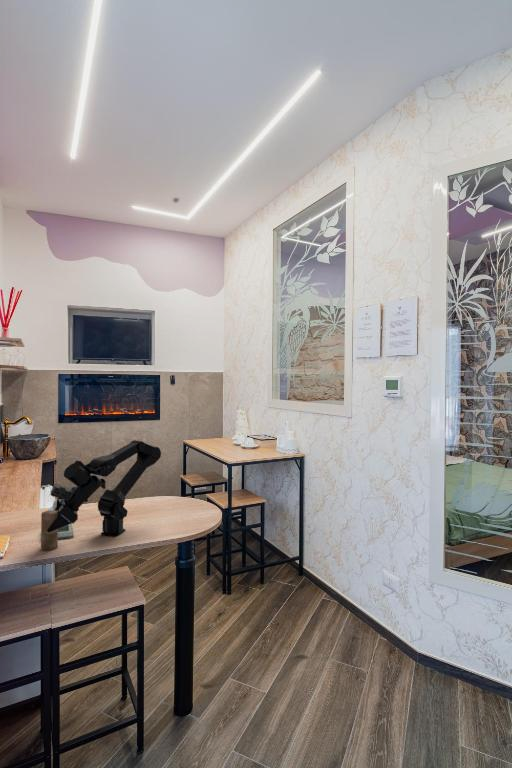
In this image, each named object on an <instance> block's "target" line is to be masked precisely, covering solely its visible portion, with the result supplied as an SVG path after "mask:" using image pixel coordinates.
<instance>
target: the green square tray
mask: <svg viewBox="0 0 512 768" xmlns="http://www.w3.org/2000/svg"><path fill="white" fill-rule="evenodd" d="M73 528H74V527H73V523H72V524H68V525H66V526H63V527H61V528H59V529H58V540H64V538H65V539H72V538H74V529H73Z"/></svg>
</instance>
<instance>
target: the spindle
mask: <svg viewBox="0 0 512 768" xmlns="http://www.w3.org/2000/svg"><path fill="white" fill-rule="evenodd" d="M40 515H41V516H40V517H41V519H40V520H41V526H40V527H41V529H40V530H41V531H40V532H41V533H40V550H41V551H42V552H51V551H54V550H56V549H57V548H58V540H59V539H58V529H56V530H54V531H52V532H48V531H47V529H48V528H49V526H50V525H51V524H52V522H53V521H54V520H55V518H56V517H57V511H56V510H49V511H47V510H45V511H42V512H41V514H40Z"/></svg>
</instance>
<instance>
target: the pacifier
mask: <svg viewBox="0 0 512 768" xmlns="http://www.w3.org/2000/svg"><path fill="white" fill-rule="evenodd" d="M57 499H58V498H55V499H54V501H53V504H52V506H51V507H50V508H48V509H47V510H46V511H49V510H54V509H55V508H56V506H57Z"/></svg>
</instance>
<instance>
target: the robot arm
mask: <svg viewBox="0 0 512 768" xmlns="http://www.w3.org/2000/svg"><path fill="white" fill-rule="evenodd" d="M134 455H136V461H135V462H134V463H133V465H132V466H131V468H129V469H128V471H127V472H126V474H125V475H124V477H122V479H121V480H120V481H119V483H118V484H117V485H116V486H115V488H114V489H112V490H111V489H106V480H105V479H104V478H99V477H105V478H107V477H108V476H109V475H111V474H112V473H113V472H114V471H115V470H116V468H117V466H119V464H122V463H123V462H125V461H126V460H128V459H130V458H131V457H133V456H134ZM161 456H162V450H161V449H160V447H158V446H154V445H151V444H148V443H146V442H144V441H141V440H135V439H134V440H131V441H130V442H129V443H127V444H126V445H124V446H122V447H120V448H119V449H117V450H116V451H114V452H112V453H110V454H108V455H101V456H98V457H95V458H93V459H92V460H91V461H90V462H89V463H86V464H84V463H83V462H82V461H81V460H75V461H74V463H71V464H69V465H68V467H66V468H65V470H64V471H63V477H64V478H65V479H66V480H68V481H69V482H71V483H72V484H73V485H75V486H73V487H71V488H70V487H67V486H64V485H61V484H58V483H54V484H53V486H52V488H51V490H50V492H49V493H50V494H49V495H50V496H52V497H54V498H55V497H56V499H57V505H56V508H55V509H54V510H56V511H57V517H56V518H55V520H54V521H53V522H52V524H51V525H50V526H49V528H48V529H47V531H48V532H52V531H54V530H56V529H59V528H61V527H63V526H66V525H68V524H72V525H74V524H75V522H77V521H78V519H79V518H78V517H79V514H78V511H80V507H81V506H82V505H83V504H84V503H88V501H89V499H90V497H91V496H92V495H93V494H95V492H96V491H97V490H99V488H102V489H103V490H105V489H106V490H105V491H104V493H103V494H102V495H101V496H100V497H99V500H98V502H97V510H98V511H99V515H100V516H101V517H103V519H102V532H100V535H101V536H108V537H109V536H111V537H118V536H120V535H121V534H122V533H124V532H125V531H126V528H124V519H125V518H126V517H127V516H128V509H127V508H125V507H124V505H125V501H126V496H127V495H128V494H129V492H130V491H131V490H132V488H133V487H134V485H136V483H137V482H138V480H140V477H142V475H143V474H144V473H145V471H146V470H147V468H149V467H151V466H153V465H155V464H156V463H157V462H158V461H159V460H160V458H161ZM98 476H99V477H98Z"/></svg>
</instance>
